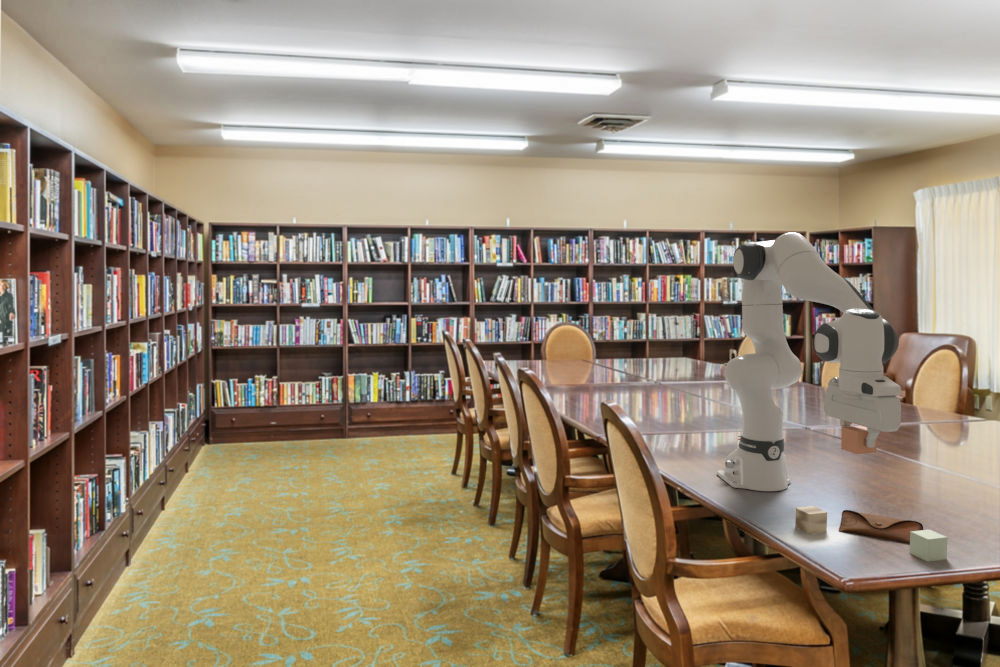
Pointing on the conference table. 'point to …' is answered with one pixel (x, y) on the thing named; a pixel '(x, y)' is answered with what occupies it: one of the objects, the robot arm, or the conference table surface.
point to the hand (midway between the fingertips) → (858, 443)
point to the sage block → (928, 545)
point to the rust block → (856, 440)
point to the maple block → (811, 520)
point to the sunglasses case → (878, 526)
